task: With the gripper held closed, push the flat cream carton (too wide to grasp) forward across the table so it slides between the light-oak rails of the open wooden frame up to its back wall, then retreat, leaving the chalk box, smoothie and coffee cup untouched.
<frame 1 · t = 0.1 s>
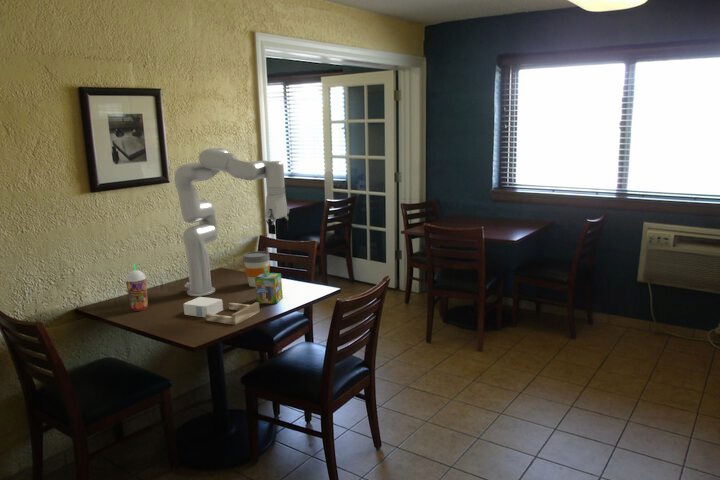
hand: (278, 231, 242), 31 cm above the table, tool pointing down, fingers open, 9 cm apart
carton: (204, 313, 239), on the table
open wooden frame: (235, 316, 232), on the table
reusable coffee cup: (258, 284, 277), on the table
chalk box: (270, 301, 251), on the table
smoothie: (139, 309, 247), on the table
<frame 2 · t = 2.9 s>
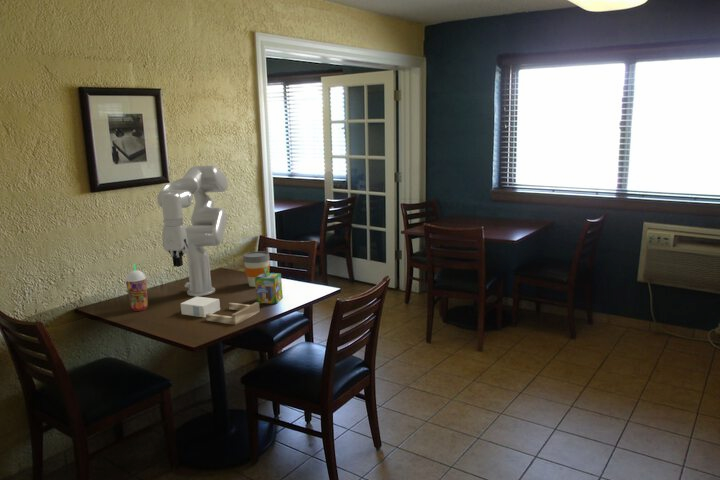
hand: (178, 265, 240), 19 cm above the table, tool pointing down, fingers closed
carton: (201, 312, 240), on the table
everything else where it was.
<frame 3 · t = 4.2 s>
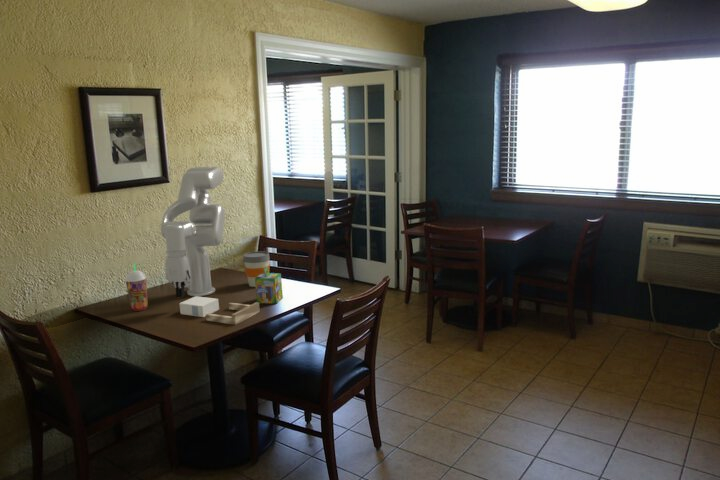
hand: (180, 296, 242), 6 cm above the table, tool pointing down, fingers closed
nothing on the table moved.
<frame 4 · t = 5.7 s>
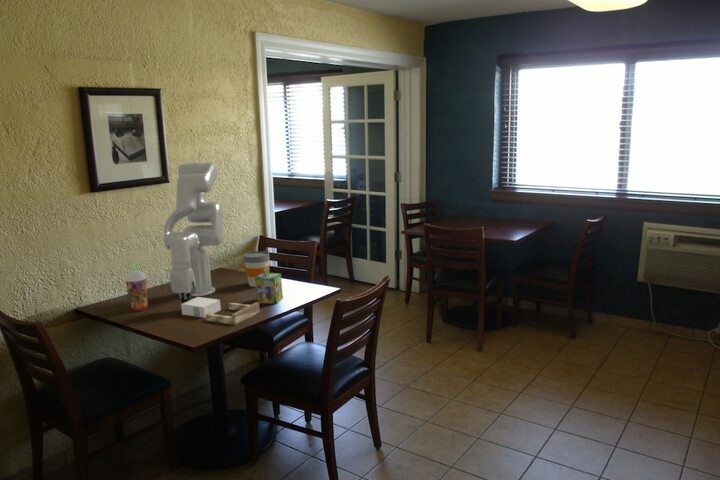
hand: (186, 307, 243), 1 cm above the table, tool pointing down, fingers closed
carton: (201, 313, 239), on the table
everything else where it was.
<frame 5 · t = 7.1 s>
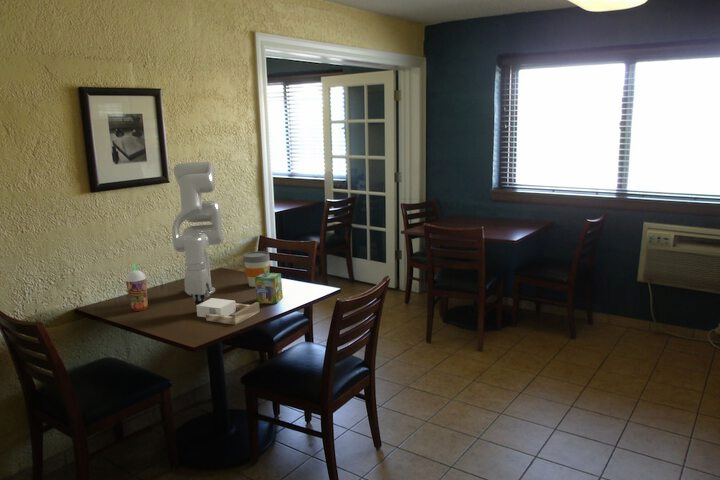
hand: (200, 308, 240), 1 cm above the table, tool pointing down, fingers closed
carton: (217, 314, 237), on the table
everything else where it was.
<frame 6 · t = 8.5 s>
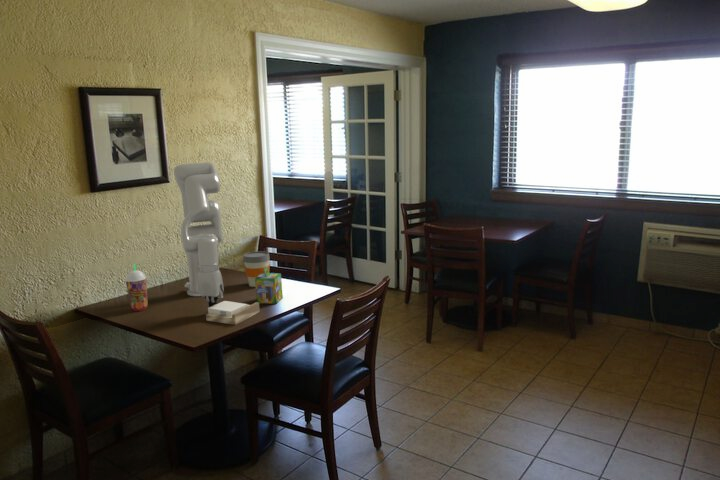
hand: (213, 310, 237), 1 cm above the table, tool pointing down, fingers closed
carton: (228, 317, 233), on the table
everything else where it was.
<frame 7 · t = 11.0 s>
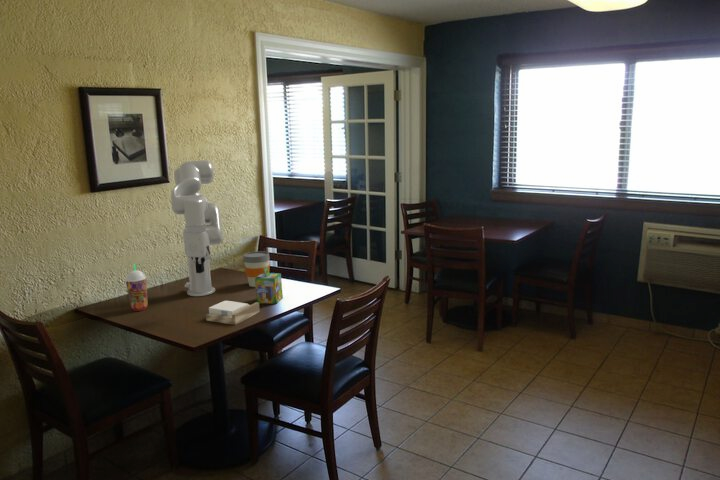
hand: (200, 272, 236), 17 cm above the table, tool pointing down, fingers closed
nothing on the table moved.
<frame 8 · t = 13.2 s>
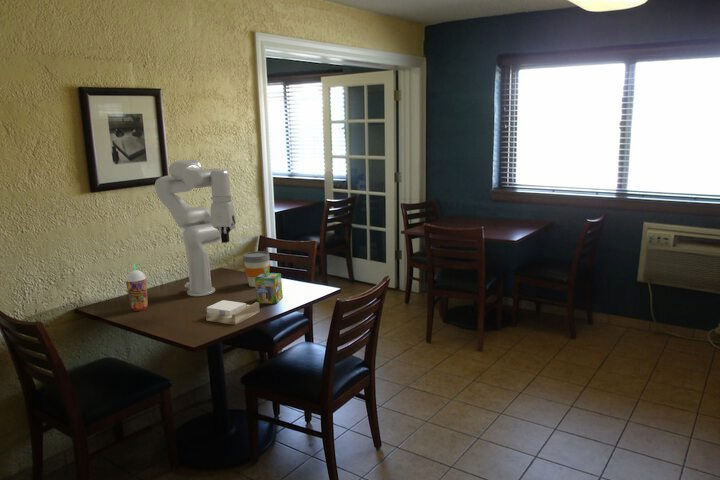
hand: (225, 242, 245), 27 cm above the table, tool pointing down, fingers closed
carton: (227, 317, 233), on the table
everything else where it was.
at the end: carton 1.5 cm from the target spot on the open wooden frame, point 0.0 cm above the open wooden frame's base; carton moved 12.6 cm from its start; carton tilted 0° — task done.
